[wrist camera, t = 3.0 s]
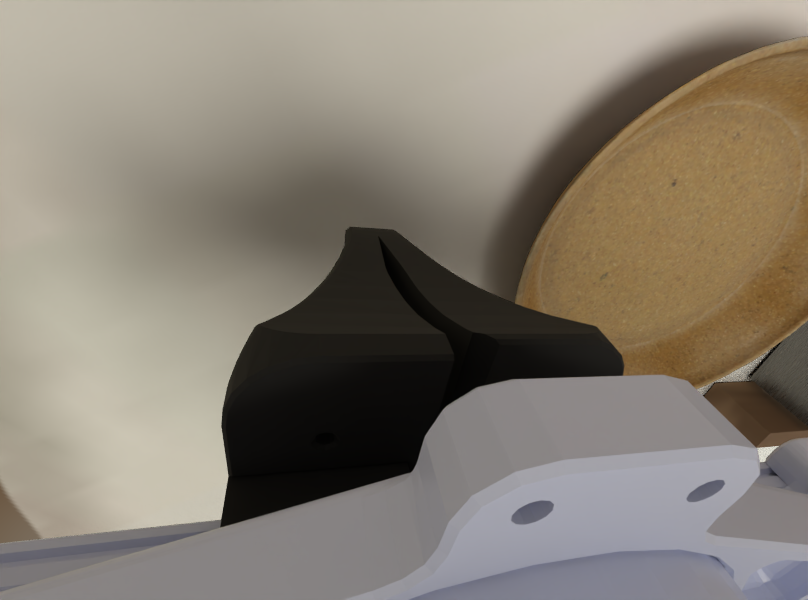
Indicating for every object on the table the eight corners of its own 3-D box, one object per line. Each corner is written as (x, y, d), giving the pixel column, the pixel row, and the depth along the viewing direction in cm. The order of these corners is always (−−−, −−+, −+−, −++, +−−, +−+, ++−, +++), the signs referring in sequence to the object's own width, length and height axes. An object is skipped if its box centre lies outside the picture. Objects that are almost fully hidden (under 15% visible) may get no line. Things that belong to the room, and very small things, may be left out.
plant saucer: (582, 408, 23) (610, 448, 21) (413, 257, 15) (430, 296, 13) (853, 232, 19) (921, 260, 17) (817, -106, 11) (938, -133, 9)
